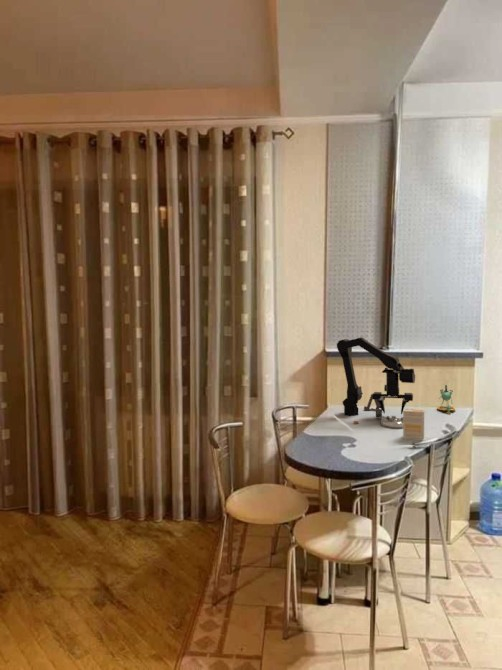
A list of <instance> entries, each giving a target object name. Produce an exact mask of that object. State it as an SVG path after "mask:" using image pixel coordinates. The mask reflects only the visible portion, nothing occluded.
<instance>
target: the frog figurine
mask: <svg viewBox="0 0 502 670" xmlns="http://www.w3.org/2000/svg"><path fill="white" fill-rule="evenodd" d="M453 392H454V391H453V390H452V389H450V390H448V385H447V384H445V385H444V389H440V394H441V396H440V397H439V398H438V399H439V400H440V399H441V400H442V401H441V402H442V403H441V404H440V405H441V406H437V407H436V409H437V410H439V411H444V413H446V414H447V415H452V412H451V411H456V409H457V408H456V407H454V406H451V405H449V403H447V406H445V405H443V404H444V402H449V401H450V400H451V403H453V399H452V395H453ZM445 411H446V412H445Z"/></svg>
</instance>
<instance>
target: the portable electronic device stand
mask: <svg viewBox="0 0 502 670" xmlns="http://www.w3.org/2000/svg"><path fill="white" fill-rule="evenodd" d="M385 400H386V398H384V401H385ZM372 401H374V403H375V406H376V407H375V408H373V407H371V405H372ZM370 407H371V408H370ZM376 409H381V410H382V407H381V405H380V403H379V402H378V401H377V400H374V399H373V393H371V394H370V397H369V400H368V402H367V406H366V405H364V407H363V410H364V411H367V412H376ZM382 411H383V410H382Z"/></svg>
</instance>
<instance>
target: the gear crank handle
mask: <svg viewBox="0 0 502 670" xmlns="http://www.w3.org/2000/svg"><path fill="white" fill-rule="evenodd" d="M375 409H376V408H375ZM375 418H379V419H380V425H381V426H382V427H384V428H388V429H397V430H399V429H403V416H402V417H400V418H399V417H397V416H396V415H391V417H390V416H389V415H387V416H383V410H381V408H379V409H376V411H375Z"/></svg>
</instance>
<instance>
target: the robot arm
mask: <svg viewBox="0 0 502 670" xmlns="http://www.w3.org/2000/svg"><path fill="white" fill-rule="evenodd" d="M355 347H360V348H361V349H363V350H365V351H367V352H368V353H370V354H371V355H372V356H374V357H375V358H377V359H378V360H379V361H380V362H381V364H383V365H384V366H385V368H384V369H383V370H382V371H381V373H383V374H385V375H386V376H385V377H386V378H385V380H386V382H385V384H384V386H383V387H384V392H386V393H382V391H374V392H373V393H372V394H373V399H372V400H373V401H374V400H377V401H378V402H379V403H380V405H381V407H382V413H383V414H386V409H385V400H384V398H385V399H402V402H401V408H400V415H403V411H404V409H405V406H406V404H407V403H409V402H413V400H414V394H413V393H412V392H404V393H403V394H400V387H399V386H400V384H399V381H400V382H401V383H402V384H415V382H416V374H415V369H414V368H404V366H403V364H401V363H400V358H399V357H398V356H397V355H394V354H392V353H389V352H386V351H383V350H382V349H381V348H379V347H377V346H376V345H374V344H373V343H371V342H369V341H368V340H367V339H365V338H364V337H361V336H360V337H356V338H353V339H348V338H343V339H340V340H338V341H337V343H336V350H337V352H338V354H339V355H340V357H341V359H342V363H343V368H344V373H345V379H346V385H347V387H346V388H347V389H346V397H345V399H343V401H342V405H343V415H344V416H348V417H355V416H359V406H358V403H359V401H361V399H362V397H363V394H364V393H363V390H362V386H358V384H357V383H358V382H357V379H356V375H355V370H354V366H353V364H354V363H353V359H352V353H353V352H352V351H353V348H355Z"/></svg>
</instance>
